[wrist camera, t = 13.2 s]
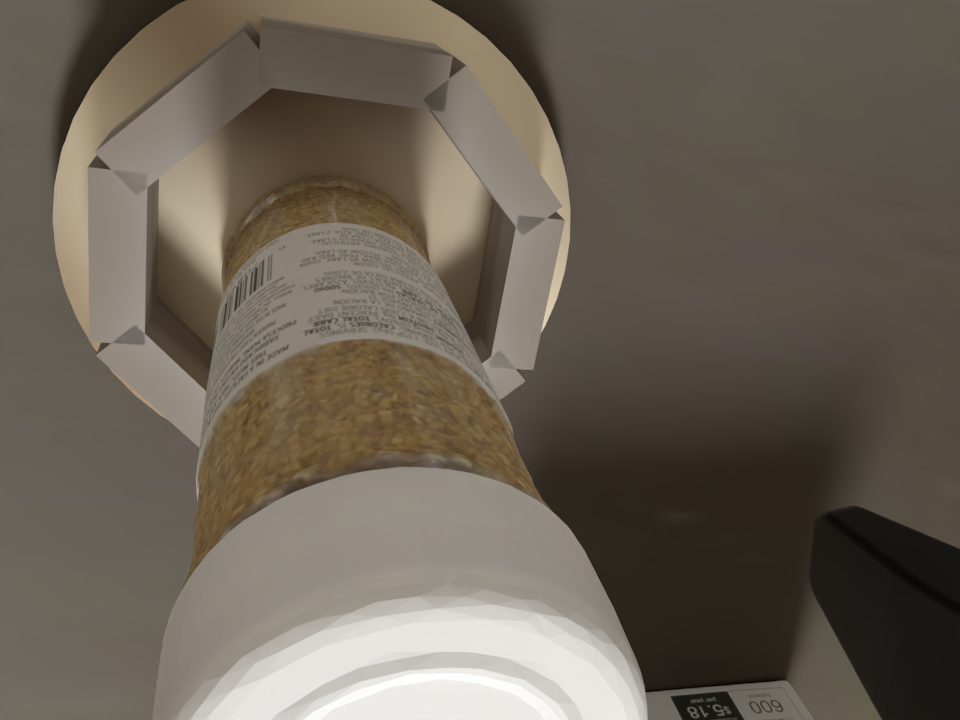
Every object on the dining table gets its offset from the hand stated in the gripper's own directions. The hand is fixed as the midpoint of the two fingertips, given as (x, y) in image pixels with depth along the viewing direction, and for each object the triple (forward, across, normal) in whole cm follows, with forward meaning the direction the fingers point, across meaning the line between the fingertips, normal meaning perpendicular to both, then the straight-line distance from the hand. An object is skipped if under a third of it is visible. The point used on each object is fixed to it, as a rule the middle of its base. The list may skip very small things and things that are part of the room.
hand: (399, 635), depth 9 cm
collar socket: (+13, 0, 0) cm, 13 cm away
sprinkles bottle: (+12, 0, 0) cm, 12 cm away
